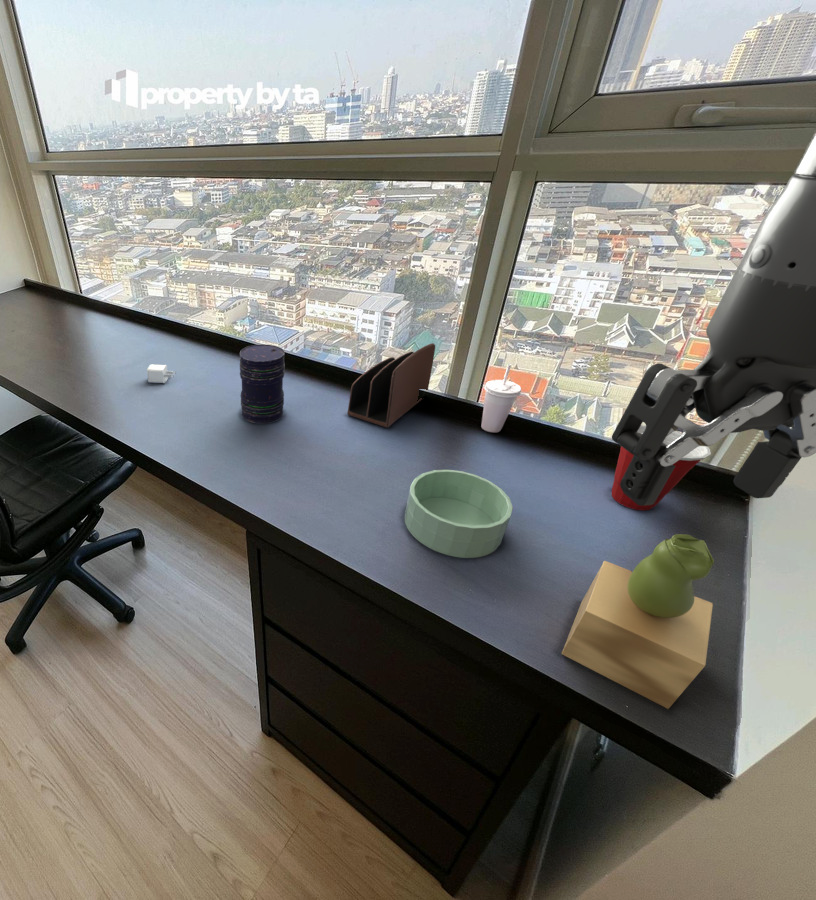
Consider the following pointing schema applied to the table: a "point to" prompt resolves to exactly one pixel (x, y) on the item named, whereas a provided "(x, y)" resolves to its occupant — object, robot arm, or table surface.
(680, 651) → the block
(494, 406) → the smoothie
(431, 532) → the pot
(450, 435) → the table surface
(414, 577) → the table surface
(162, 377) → the usb wall charger
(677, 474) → the plastic cup
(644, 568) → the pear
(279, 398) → the dark blue canister
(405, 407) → the letter holder
